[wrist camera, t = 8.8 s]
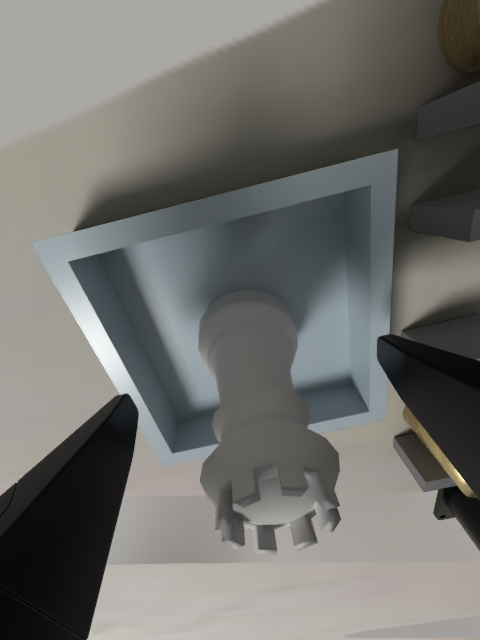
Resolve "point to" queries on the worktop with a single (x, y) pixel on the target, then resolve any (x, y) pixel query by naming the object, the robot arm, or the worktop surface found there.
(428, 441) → the brass peg
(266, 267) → the tray
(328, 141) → the worktop surface
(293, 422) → the rook chess piece
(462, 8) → the brass peg
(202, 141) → the worktop surface
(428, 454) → the grey small pieces
